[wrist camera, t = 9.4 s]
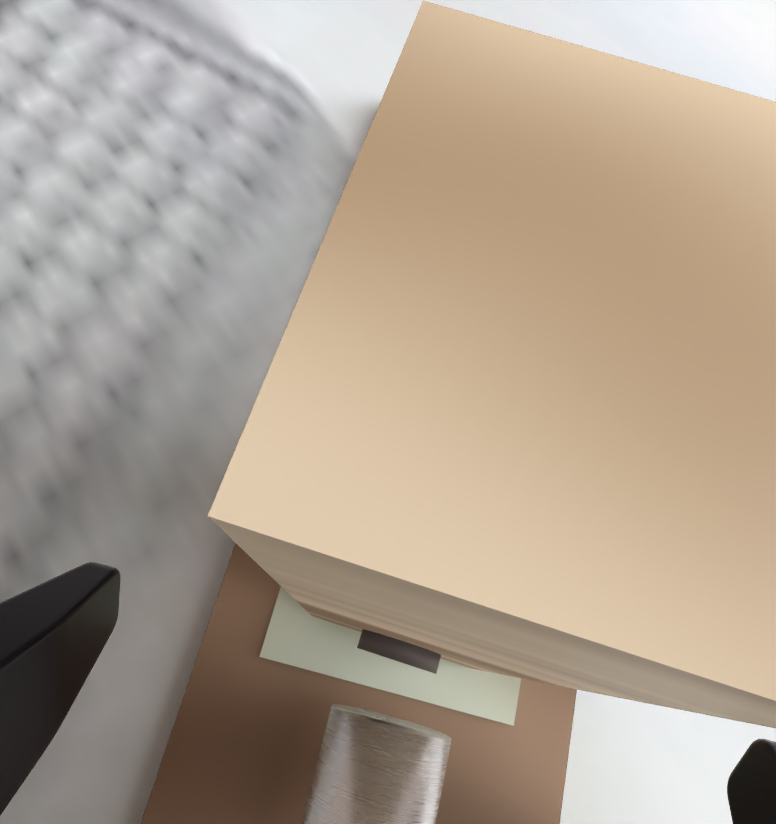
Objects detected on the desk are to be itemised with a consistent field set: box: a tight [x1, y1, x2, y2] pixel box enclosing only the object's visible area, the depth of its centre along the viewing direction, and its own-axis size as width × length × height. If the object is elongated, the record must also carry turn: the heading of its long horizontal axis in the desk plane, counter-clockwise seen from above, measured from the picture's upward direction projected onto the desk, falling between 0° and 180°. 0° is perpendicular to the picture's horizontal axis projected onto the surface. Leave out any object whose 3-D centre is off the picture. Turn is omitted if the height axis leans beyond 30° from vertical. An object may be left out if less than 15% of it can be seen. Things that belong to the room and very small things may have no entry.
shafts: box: [301, 704, 452, 824], centre depth 15 cm, size 28×4×5 cm, turn 164°
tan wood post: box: [208, 1, 776, 728], centre depth 11 cm, size 5×4×14 cm
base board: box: [141, 543, 577, 824], centre depth 18 cm, size 34×10×2 cm, turn 164°
